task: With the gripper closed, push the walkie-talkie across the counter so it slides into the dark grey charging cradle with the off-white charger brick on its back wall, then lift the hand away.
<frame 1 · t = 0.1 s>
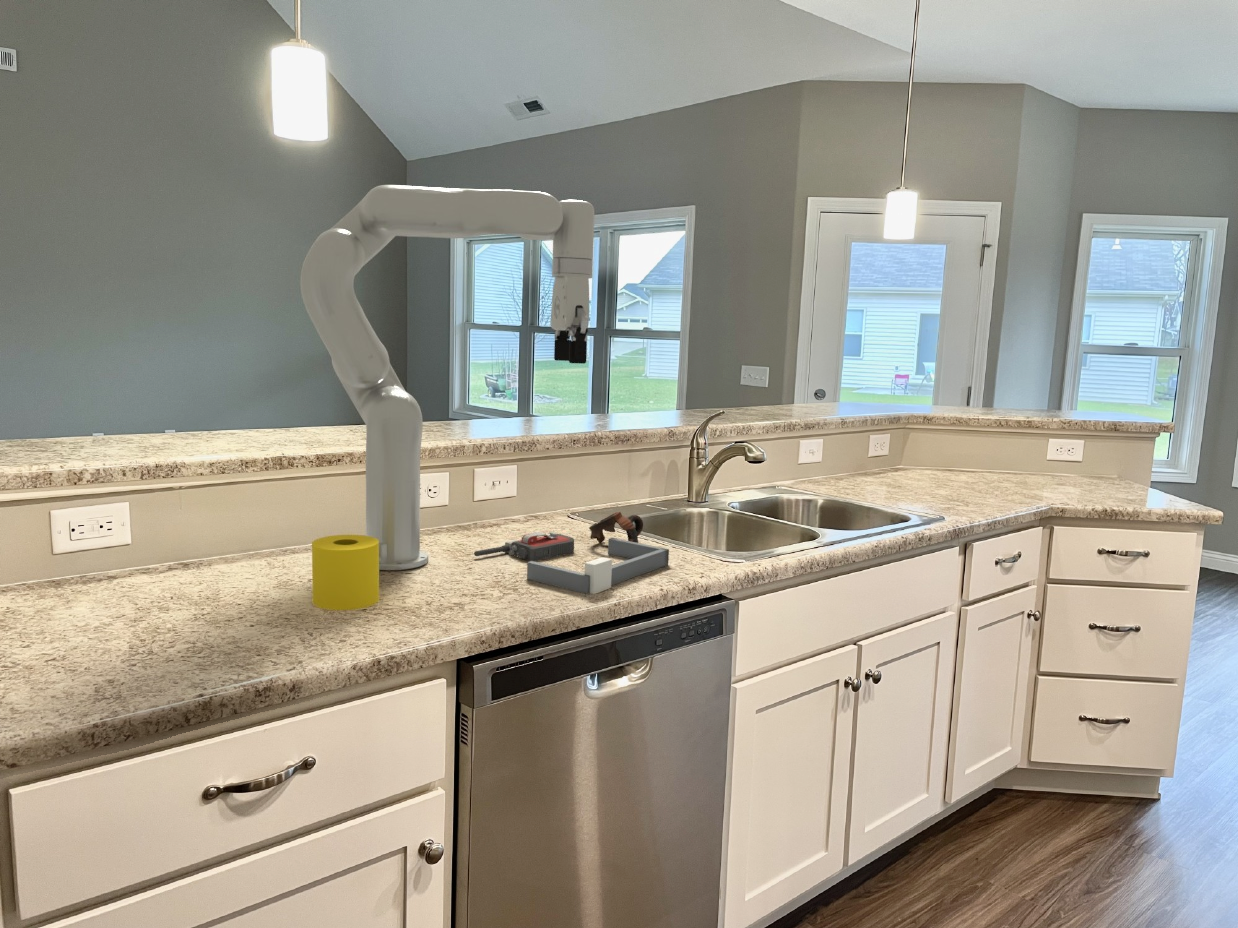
hand: (569, 361, 172), 37 cm above the worktop, tool pointing down, fingers open, 9 cm apart
tape roll: (346, 601, 144), on the worktop
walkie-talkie: (527, 557, 176), on the worktop
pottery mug: (618, 547, 185), on the worktop
cradle: (597, 570, 166), on the worktop
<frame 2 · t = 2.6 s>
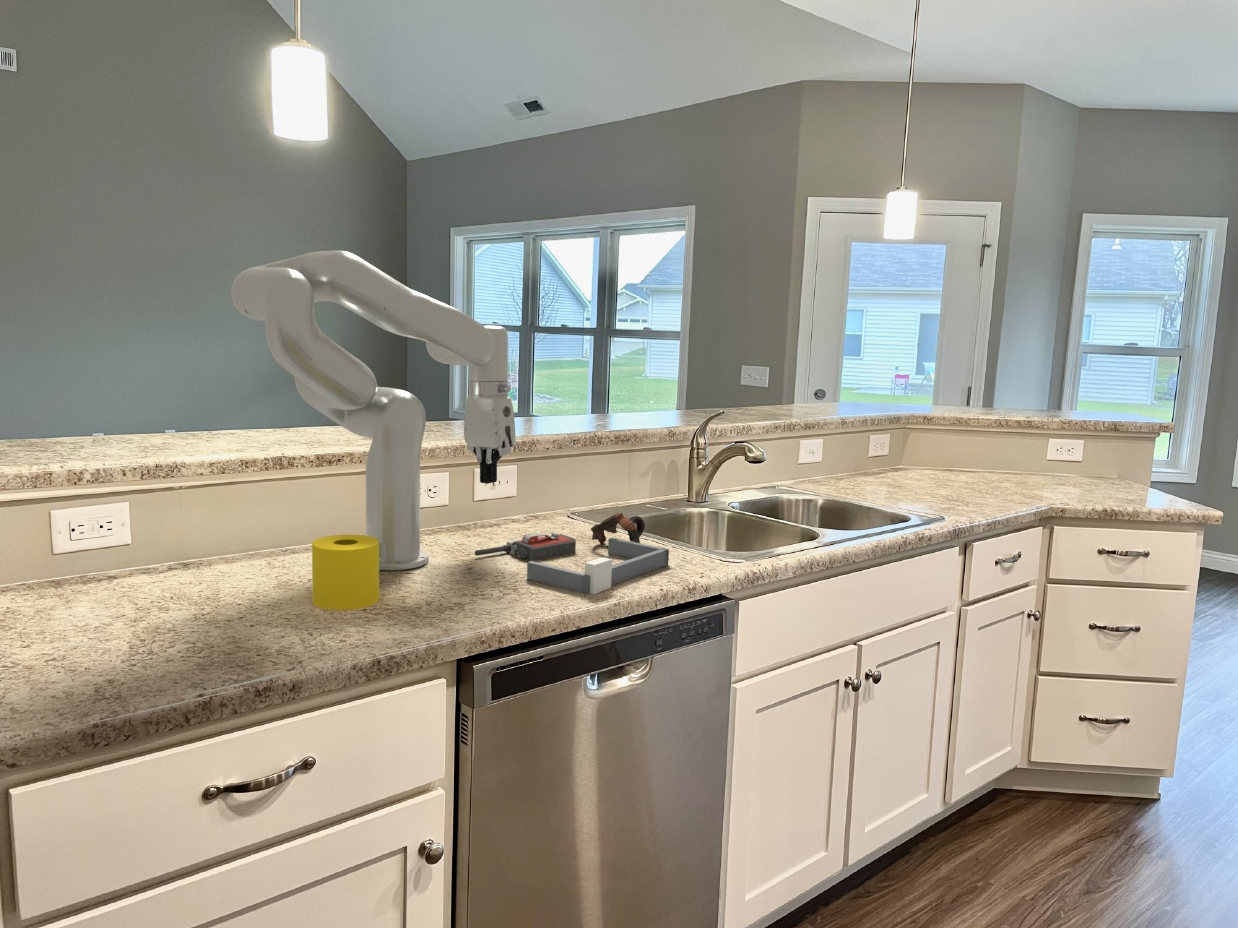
hand: (488, 482, 180), 13 cm above the worktop, tool pointing down, fingers closed
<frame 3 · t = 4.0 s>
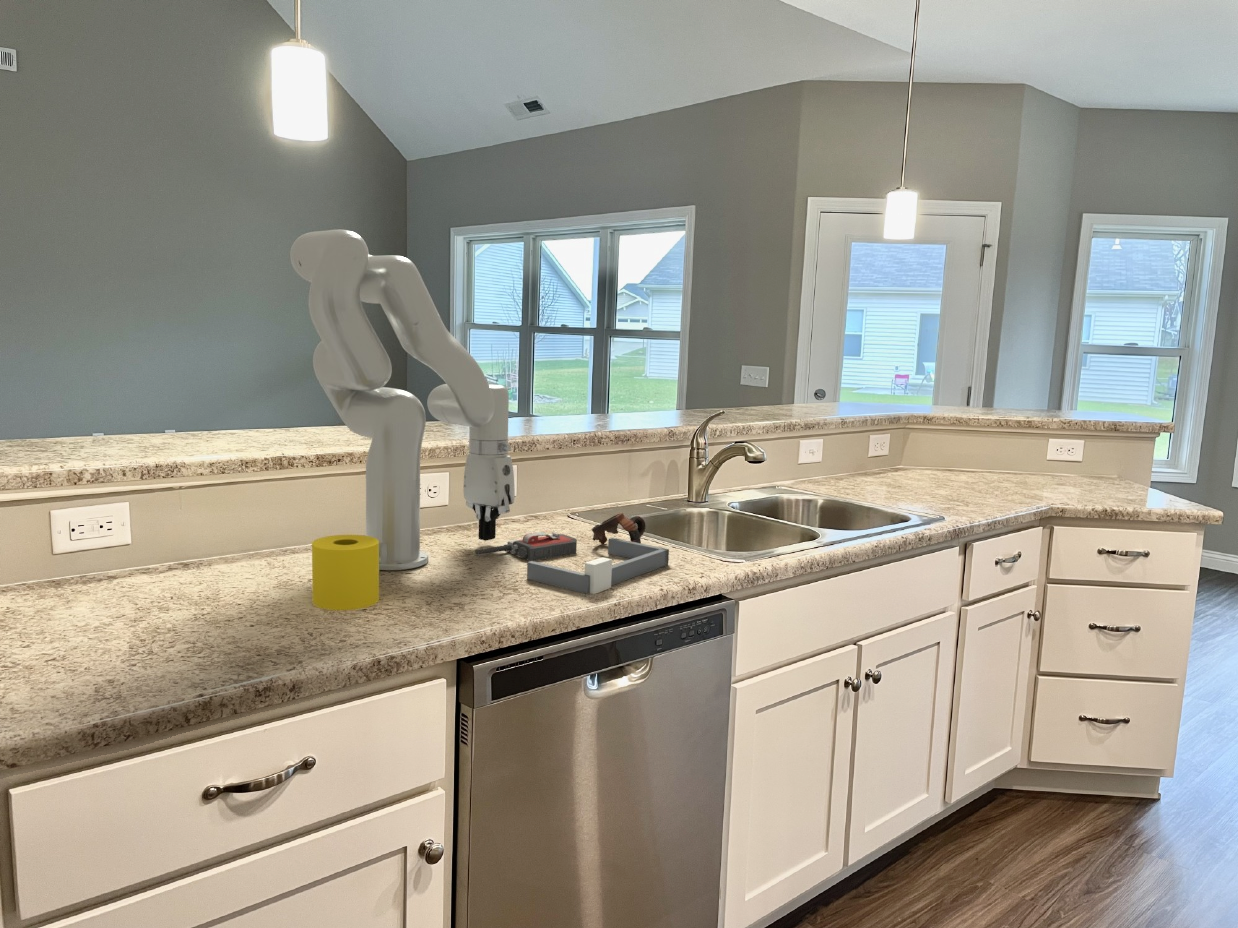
hand: (487, 538, 182), 1 cm above the worktop, tool pointing down, fingers closed
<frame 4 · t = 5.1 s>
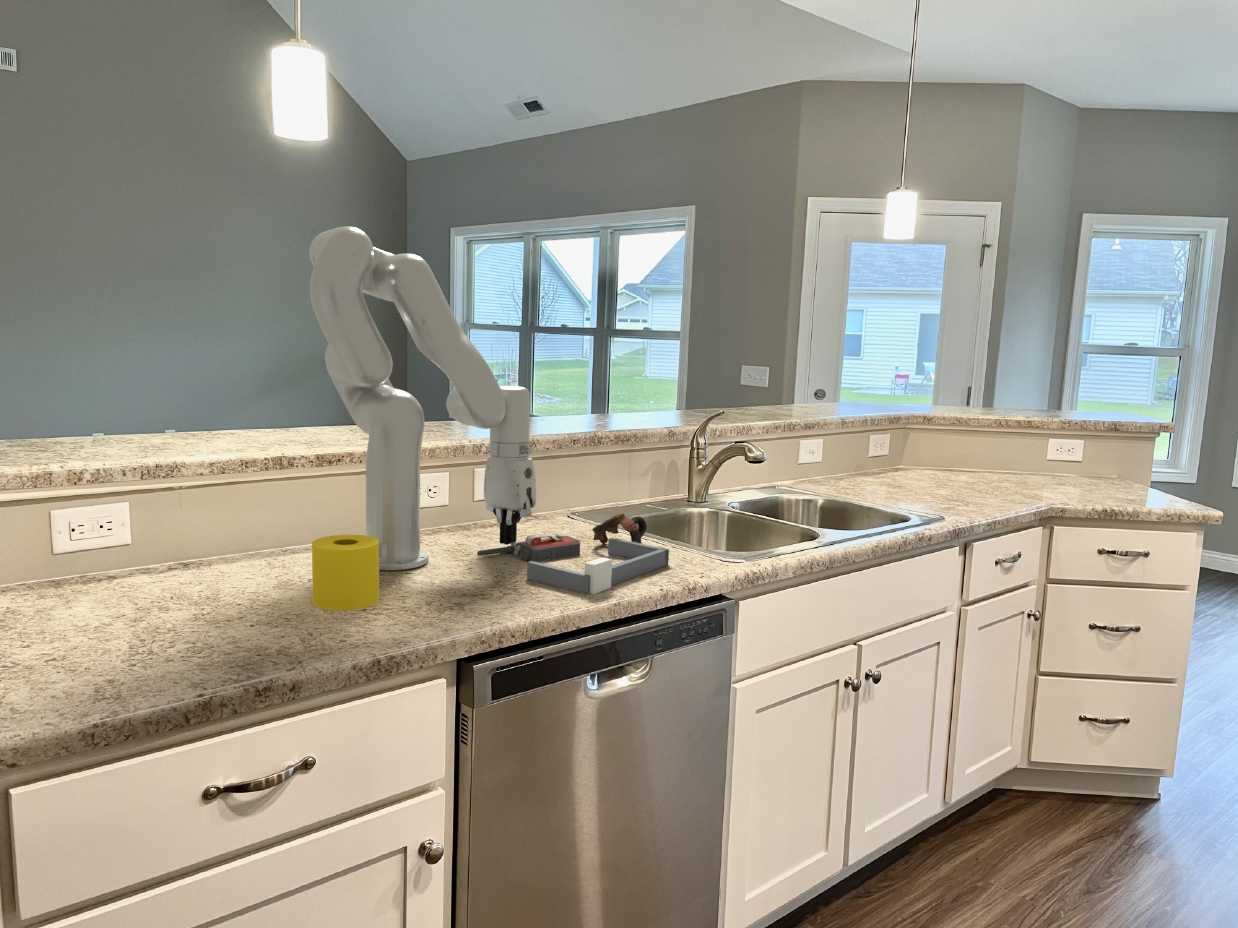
hand: (508, 542, 179), 1 cm above the worktop, tool pointing down, fingers closed
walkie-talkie: (531, 558, 176), on the worktop, touching gripper
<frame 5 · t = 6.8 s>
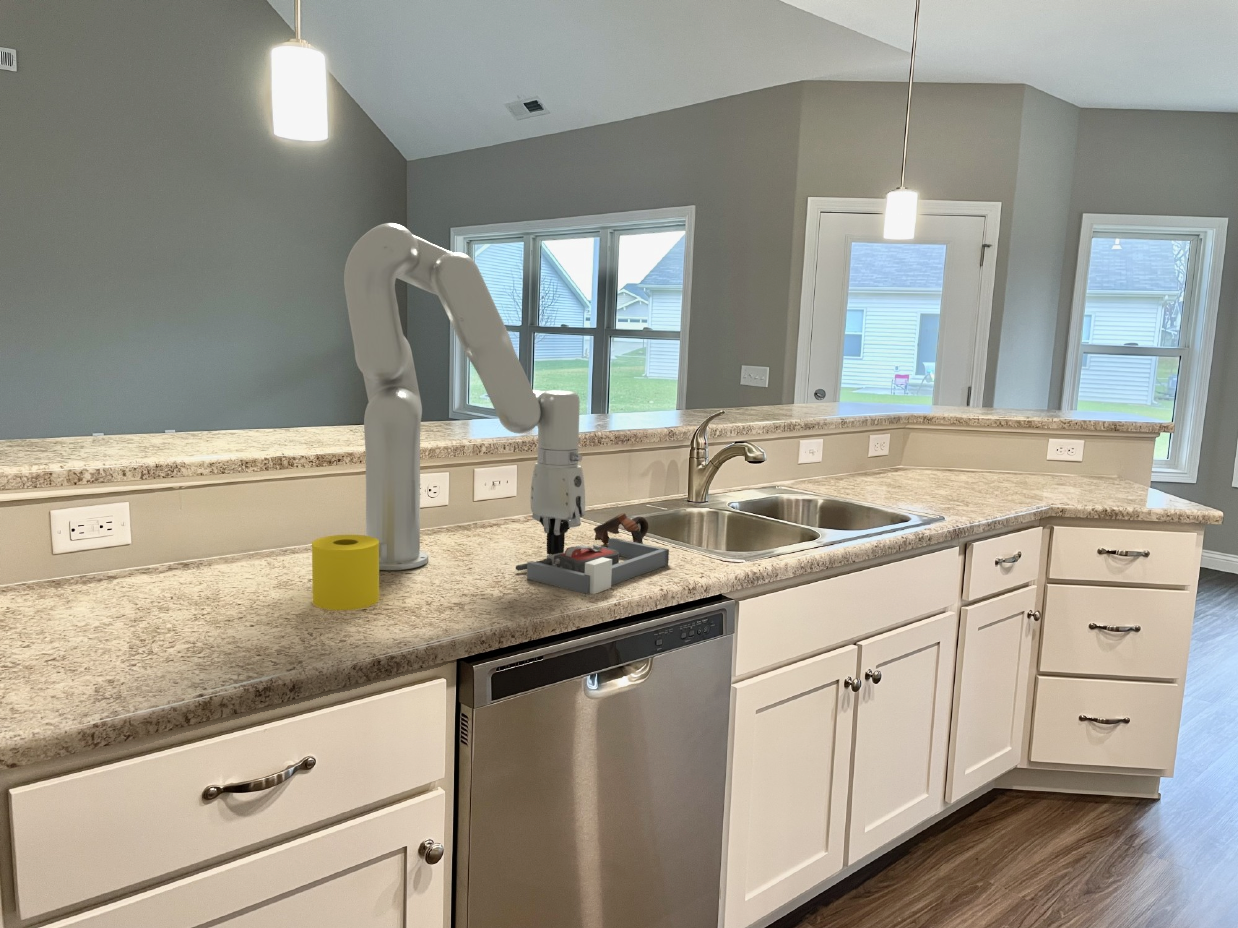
hand: (555, 553, 172), 1 cm above the worktop, tool pointing down, fingers closed
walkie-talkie: (570, 571, 167), on the worktop, touching gripper
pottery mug: (623, 549, 184), on the worktop, touching cradle
everything else where it was.
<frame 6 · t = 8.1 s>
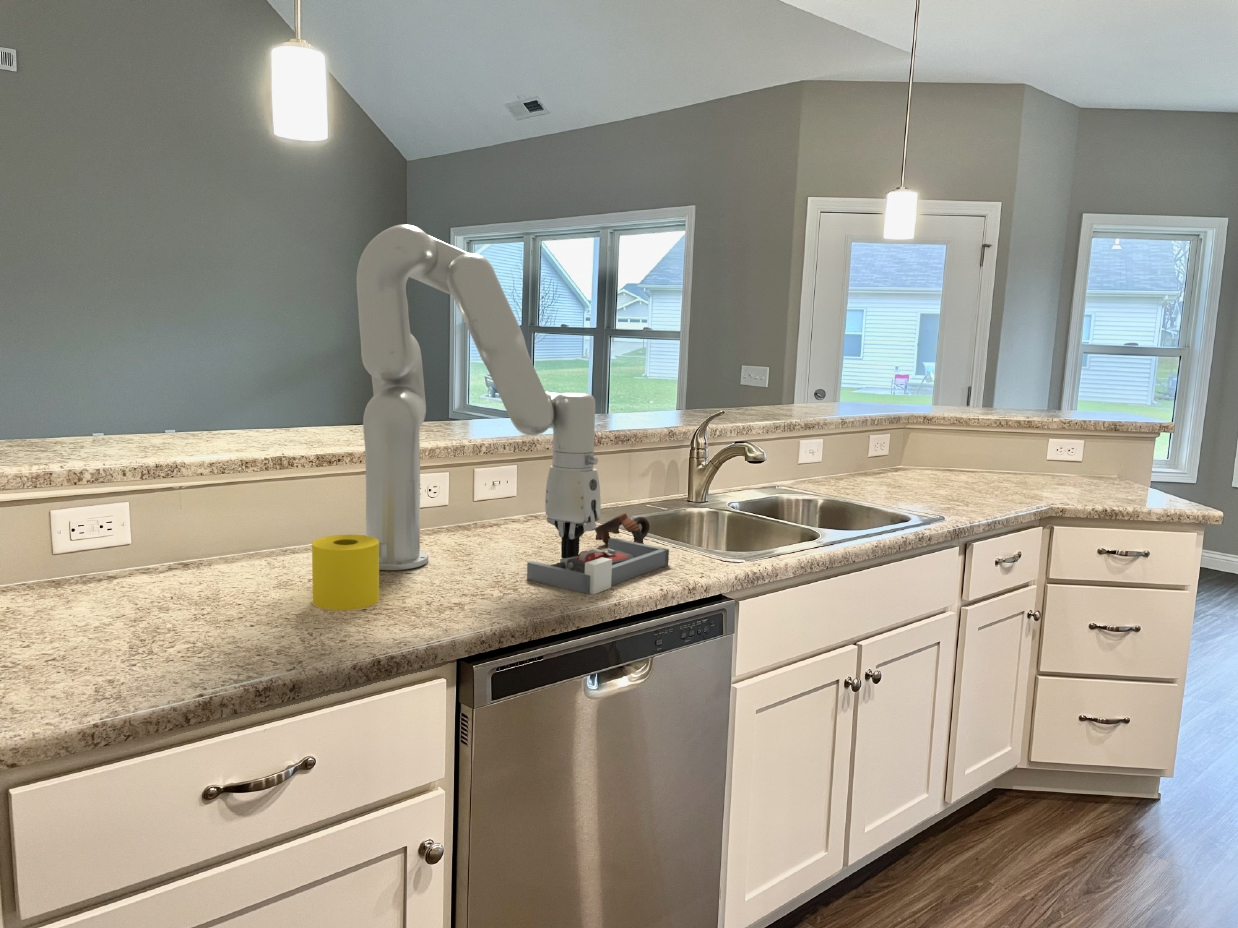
hand: (569, 557, 170), 1 cm above the worktop, tool pointing down, fingers closed
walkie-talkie: (583, 575, 165), on the worktop
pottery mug: (624, 549, 184), on the worktop
everything else where it was.
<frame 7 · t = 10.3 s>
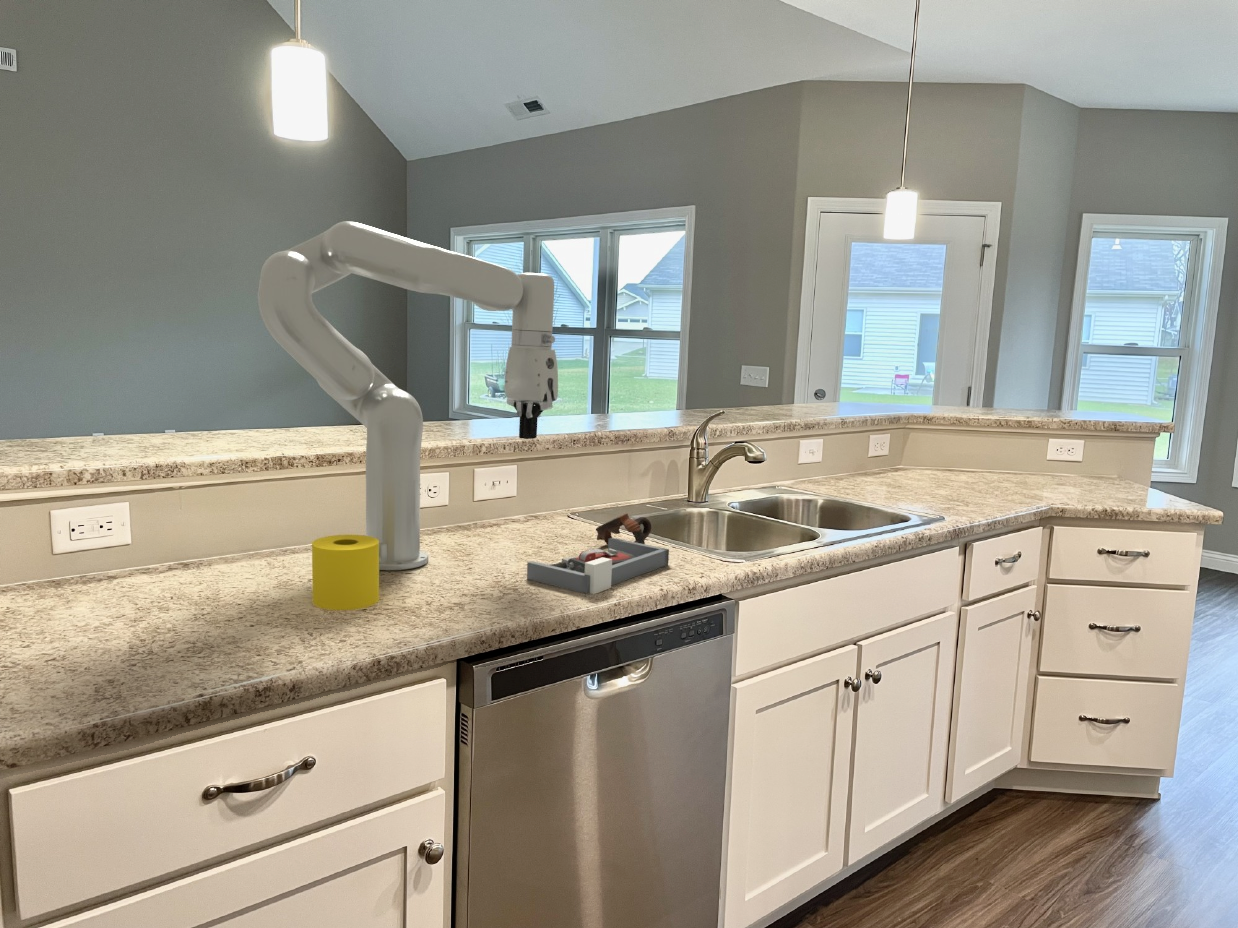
hand: (527, 438, 173), 23 cm above the worktop, tool pointing down, fingers closed
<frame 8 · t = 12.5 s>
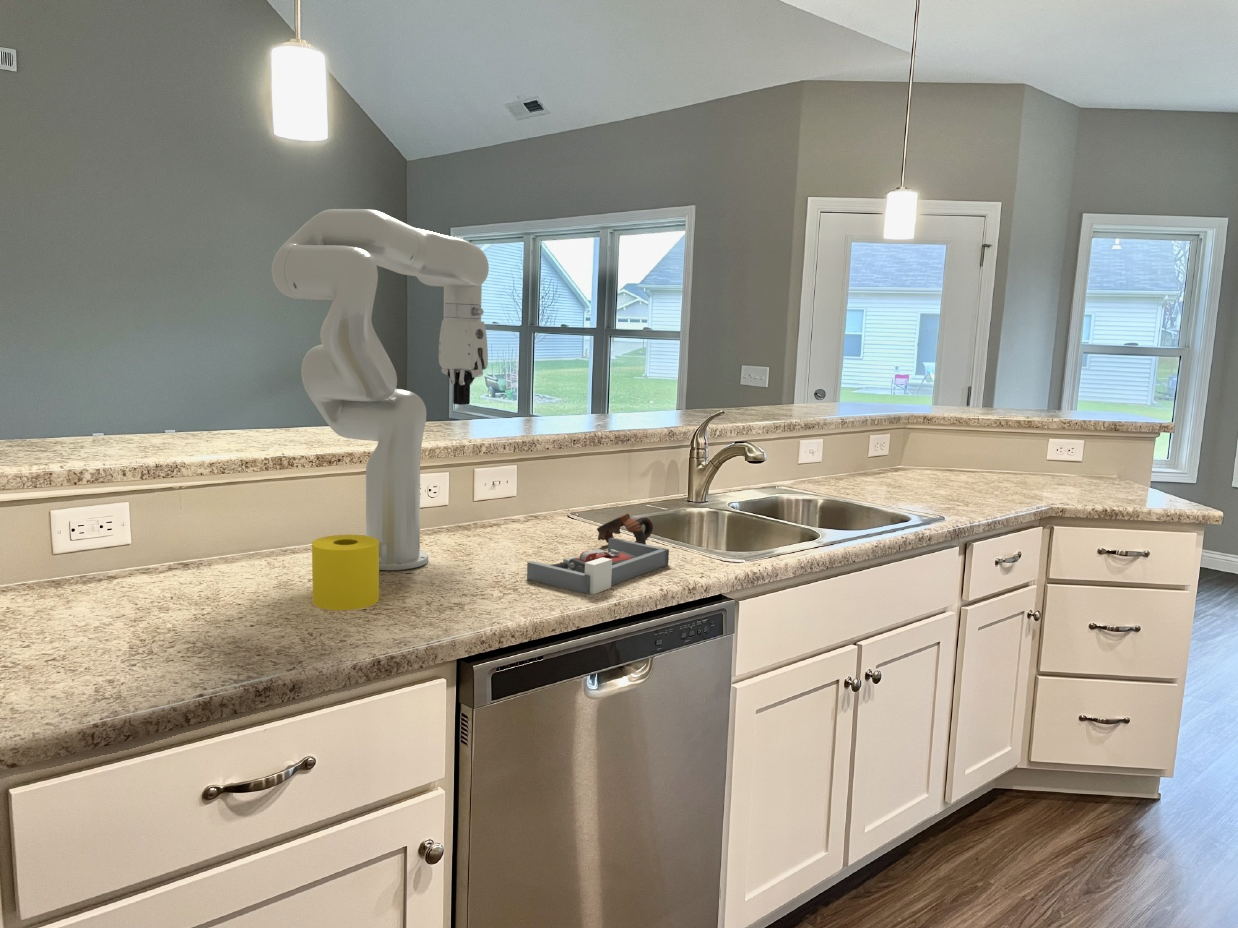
hand: (461, 403, 187), 27 cm above the worktop, tool pointing down, fingers closed
nothing on the worktop moved.
at the end: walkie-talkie inside the target area on the cradle (2.9 cm from its centre), point -0.6 cm above the cradle's base; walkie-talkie moved 16.2 cm from its start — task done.
